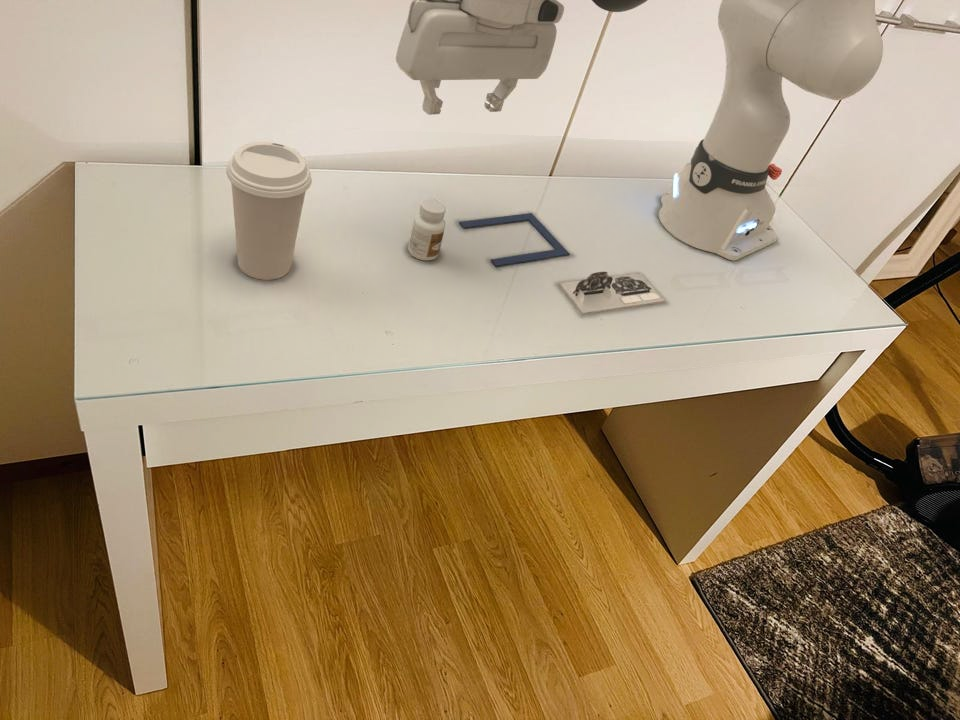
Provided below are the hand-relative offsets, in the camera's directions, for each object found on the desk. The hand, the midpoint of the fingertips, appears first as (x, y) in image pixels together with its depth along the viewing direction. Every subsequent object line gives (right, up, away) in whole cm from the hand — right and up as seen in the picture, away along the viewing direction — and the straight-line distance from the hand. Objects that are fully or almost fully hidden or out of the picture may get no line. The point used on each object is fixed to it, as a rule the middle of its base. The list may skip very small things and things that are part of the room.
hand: (462, 111), depth 93 cm
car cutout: (+21, -21, +18) cm, 35 cm away
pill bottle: (-6, -15, +14) cm, 22 cm away
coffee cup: (-25, -18, +4) cm, 32 cm away
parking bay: (+7, -12, +22) cm, 26 cm away
